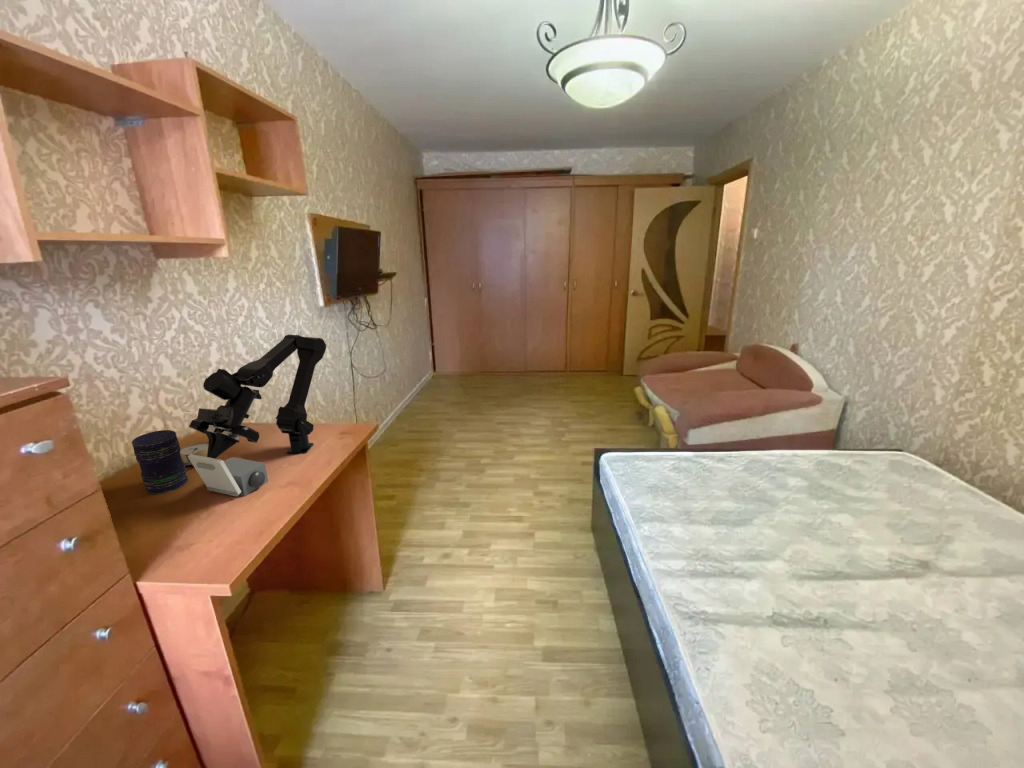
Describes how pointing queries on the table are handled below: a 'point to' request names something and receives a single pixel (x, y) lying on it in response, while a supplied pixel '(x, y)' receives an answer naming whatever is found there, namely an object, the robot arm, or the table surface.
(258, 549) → the table surface
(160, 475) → the storage jar
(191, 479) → the table surface
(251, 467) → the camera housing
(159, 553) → the table surface
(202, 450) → the alarm clock
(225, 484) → the door
